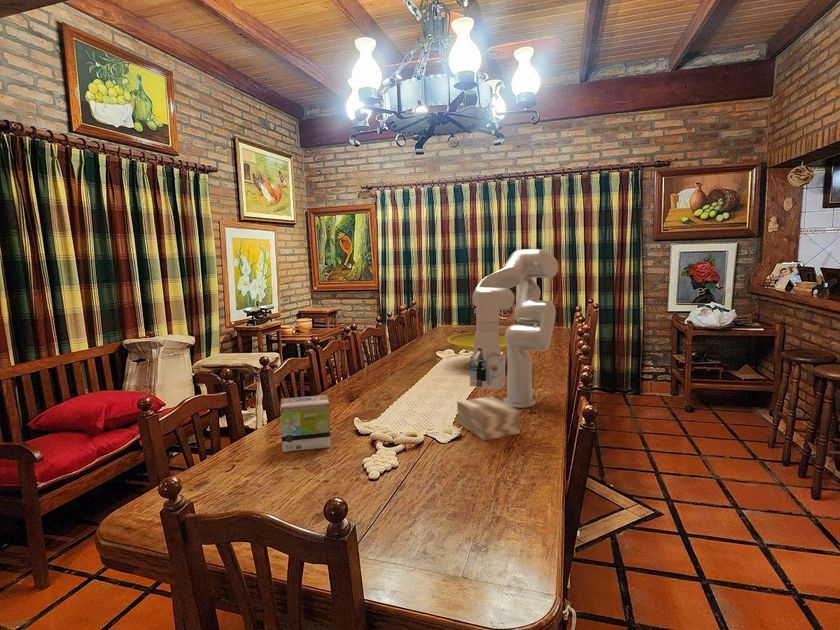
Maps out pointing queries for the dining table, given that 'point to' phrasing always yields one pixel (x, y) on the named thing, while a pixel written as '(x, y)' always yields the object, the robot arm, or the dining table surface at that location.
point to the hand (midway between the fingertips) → (487, 377)
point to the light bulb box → (489, 372)
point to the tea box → (305, 423)
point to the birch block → (488, 417)
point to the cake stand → (470, 344)
